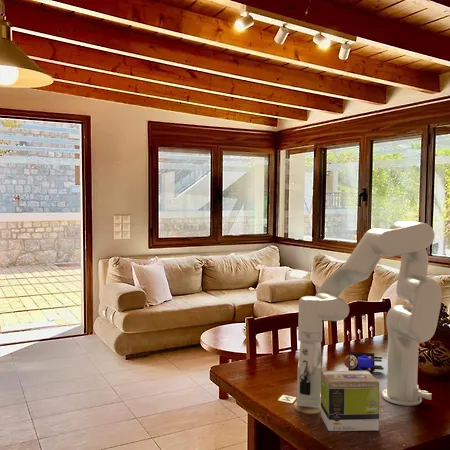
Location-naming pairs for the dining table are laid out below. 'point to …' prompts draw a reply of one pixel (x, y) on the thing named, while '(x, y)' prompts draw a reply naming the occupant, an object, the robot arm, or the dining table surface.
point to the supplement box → (315, 388)
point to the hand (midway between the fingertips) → (309, 388)
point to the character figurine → (362, 361)
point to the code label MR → (287, 399)
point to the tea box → (350, 400)
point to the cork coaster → (307, 409)
